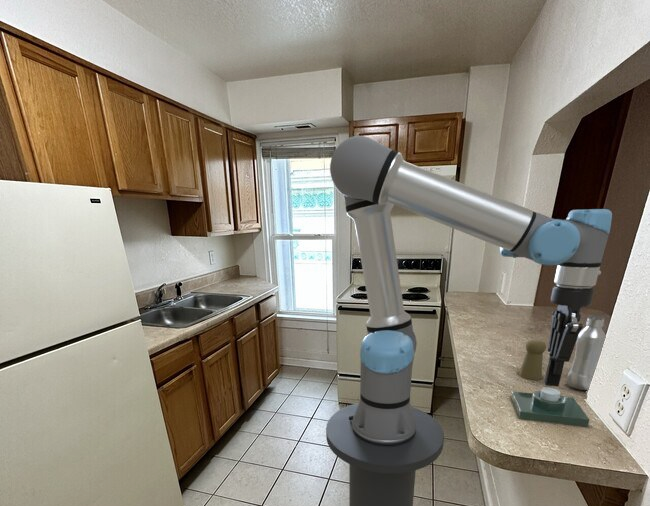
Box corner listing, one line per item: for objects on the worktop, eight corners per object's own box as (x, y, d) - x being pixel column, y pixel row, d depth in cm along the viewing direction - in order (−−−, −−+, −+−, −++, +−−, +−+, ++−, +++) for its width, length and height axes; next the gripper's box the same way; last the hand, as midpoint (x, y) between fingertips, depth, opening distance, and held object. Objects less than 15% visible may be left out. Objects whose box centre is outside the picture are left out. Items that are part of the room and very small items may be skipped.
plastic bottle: (592, 385, 100) (610, 317, 93) (593, 395, 94) (612, 323, 87) (565, 380, 103) (581, 314, 96) (564, 389, 98) (581, 319, 91)
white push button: (542, 401, 85) (543, 393, 84) (537, 394, 88) (539, 386, 87) (561, 403, 83) (562, 395, 83) (556, 395, 87) (557, 388, 86)
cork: (541, 381, 103) (548, 345, 100) (518, 377, 106) (524, 342, 103) (541, 373, 108) (549, 339, 104) (519, 370, 111) (525, 337, 107)
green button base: (519, 418, 84) (522, 403, 83) (511, 398, 94) (513, 384, 93) (587, 427, 80) (591, 411, 79) (571, 404, 90) (575, 390, 88)
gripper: (606, 292, 69) (578, 398, 78) (583, 281, 81) (560, 375, 89) (563, 290, 72) (540, 394, 80) (546, 280, 83) (527, 372, 91)
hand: (551, 384), depth 84 cm, fingers closed
